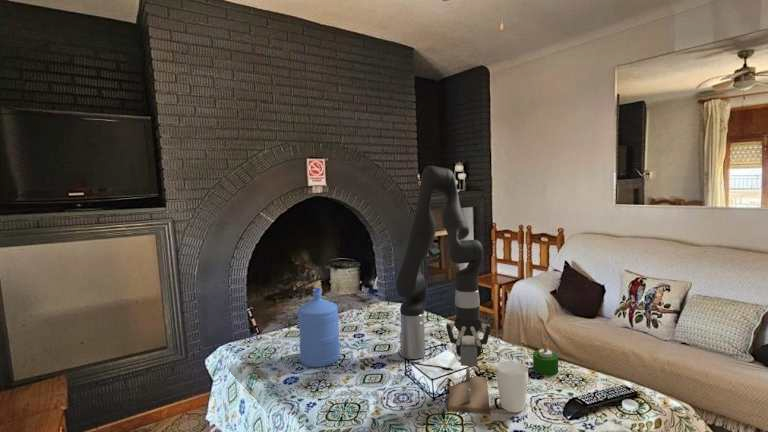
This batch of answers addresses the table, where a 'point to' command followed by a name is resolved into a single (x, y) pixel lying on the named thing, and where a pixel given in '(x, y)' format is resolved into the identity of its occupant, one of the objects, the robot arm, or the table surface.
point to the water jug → (318, 332)
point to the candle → (545, 362)
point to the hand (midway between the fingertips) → (468, 355)
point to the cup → (512, 385)
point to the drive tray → (470, 395)
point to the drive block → (468, 351)
